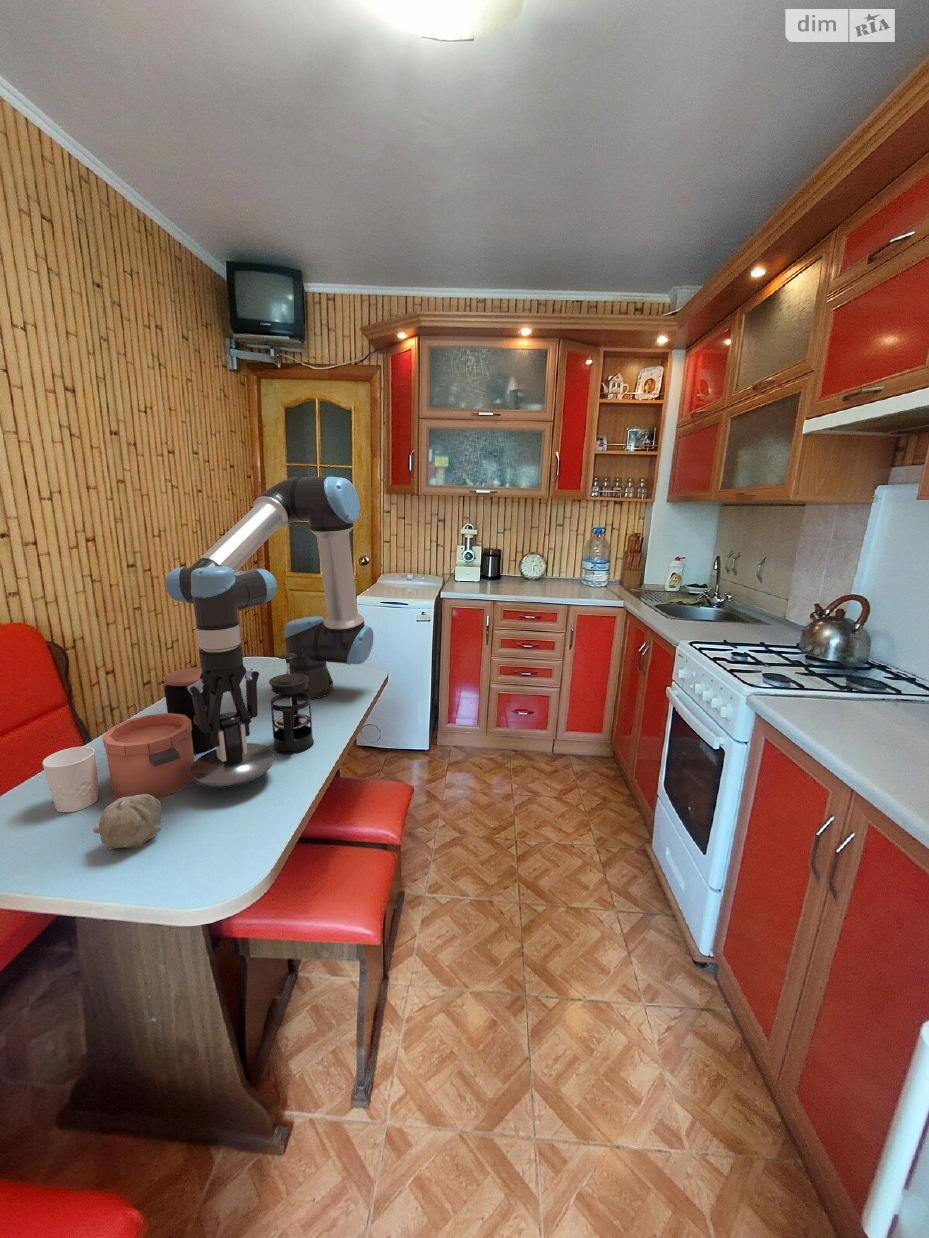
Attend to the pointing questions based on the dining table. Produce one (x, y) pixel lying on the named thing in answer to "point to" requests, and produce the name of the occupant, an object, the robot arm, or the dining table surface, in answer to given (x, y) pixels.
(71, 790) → the white cup
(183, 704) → the coffee jar
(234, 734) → the lid
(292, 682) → the french press
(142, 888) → the dining table surface
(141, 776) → the pot
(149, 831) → the garlic bulb
